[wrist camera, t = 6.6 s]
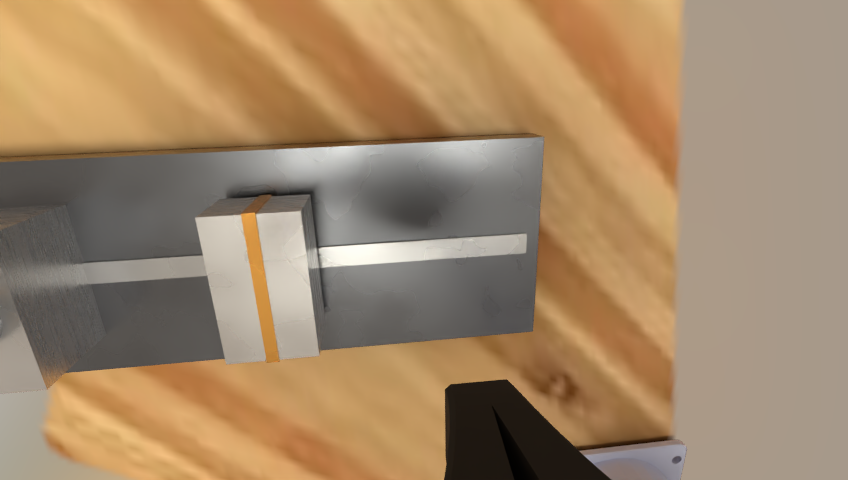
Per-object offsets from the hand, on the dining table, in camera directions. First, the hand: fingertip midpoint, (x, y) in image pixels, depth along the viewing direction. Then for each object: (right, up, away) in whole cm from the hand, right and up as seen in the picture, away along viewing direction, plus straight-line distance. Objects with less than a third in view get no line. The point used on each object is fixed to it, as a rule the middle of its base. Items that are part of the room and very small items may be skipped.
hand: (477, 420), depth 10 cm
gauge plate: (-8, +3, +8) cm, 12 cm away
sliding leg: (-6, +3, +6) cm, 10 cm away
